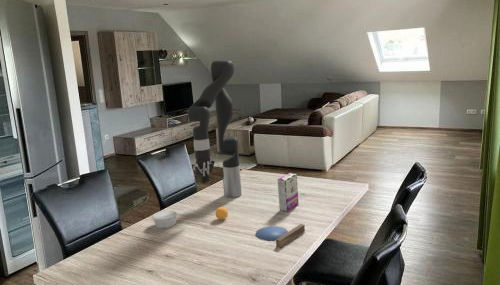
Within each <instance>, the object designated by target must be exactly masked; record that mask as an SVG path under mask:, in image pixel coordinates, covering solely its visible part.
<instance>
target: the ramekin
mask: <svg viewBox="0 0 500 285" xmlns="http://www.w3.org/2000/svg"><path fill="white" fill-rule="evenodd" d="M152 219H153V223H154V225H155V227H156V228H157V229H168V228H169V229H170V228H171V227H174V226H175V224H176V223H177V212H176V211H174V210H170V209H167V210H161V211H158V212H155V213H154V214H152Z"/></svg>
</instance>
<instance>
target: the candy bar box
mask: <svg viewBox="0 0 500 285" xmlns="http://www.w3.org/2000/svg"><path fill="white" fill-rule="evenodd" d="M298 189H299V188H298V175H297V173H291V172H289V173H287V174H285V175H283V176H281V177H279V178H277V191H278V204H279V205H278V206H279V210H280V211H282V212H289V211H290V210H292V209H293V208H296V207H297V206H299V205H300V203H299V192H298Z"/></svg>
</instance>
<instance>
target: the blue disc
mask: <svg viewBox="0 0 500 285" xmlns="http://www.w3.org/2000/svg"><path fill="white" fill-rule="evenodd" d="M287 232H289V230H287V229H286V228H285V227H281V226H279V225H278V226H276V225H274V226H273V225H270V226H264V227H262V228H259V229H257V230H256V232H255V236H256V237H257V238H258V239H260V240H262V241H269V242H270V241H271V242H272V241H276V239H278V238H279V237H281V236H282V235H284V234H286V233H287Z"/></svg>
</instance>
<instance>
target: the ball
mask: <svg viewBox="0 0 500 285" xmlns="http://www.w3.org/2000/svg"><path fill="white" fill-rule="evenodd" d="M214 213H215V217H216V218H217V219H218V220H220V221H221V220H225V219H226V218H228V210H227V208H225V207H223V206H220V207H218V208H216V210H215V212H214Z"/></svg>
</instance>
